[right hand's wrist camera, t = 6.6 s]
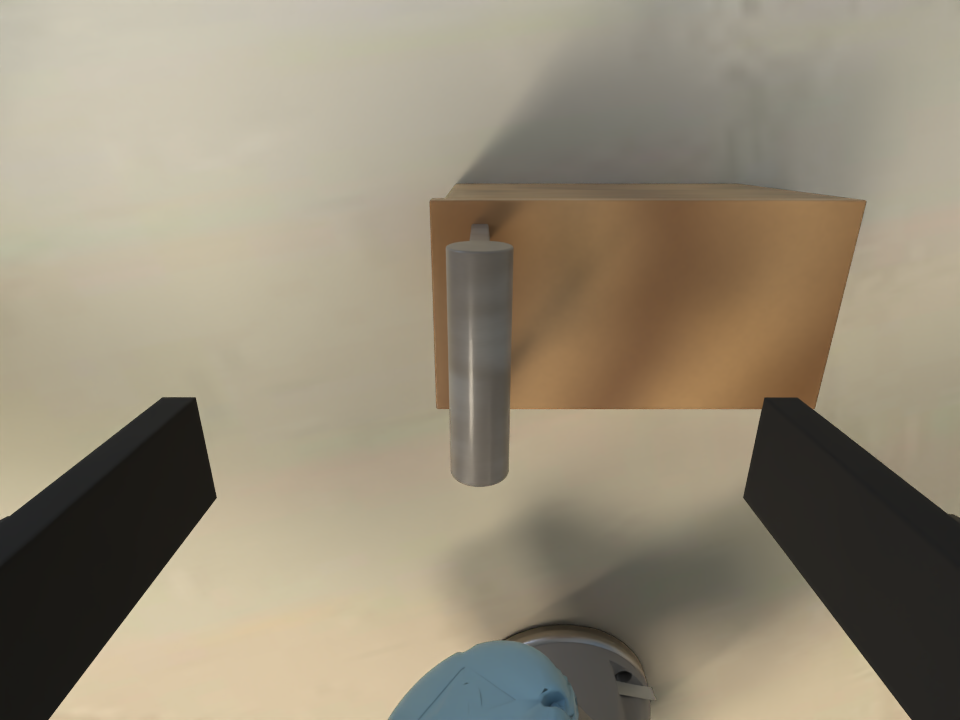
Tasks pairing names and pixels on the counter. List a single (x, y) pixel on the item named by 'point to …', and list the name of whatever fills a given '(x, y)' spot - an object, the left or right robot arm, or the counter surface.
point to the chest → (623, 191)
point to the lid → (628, 307)
